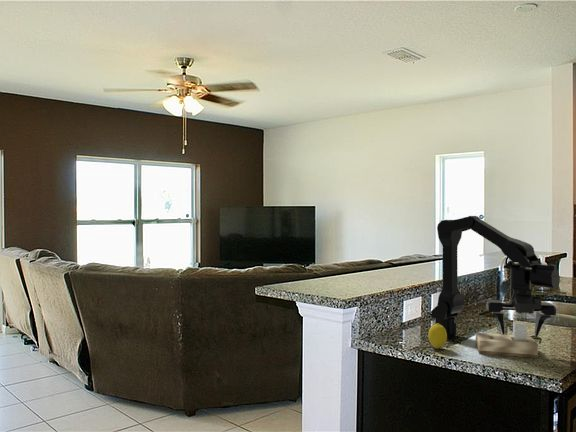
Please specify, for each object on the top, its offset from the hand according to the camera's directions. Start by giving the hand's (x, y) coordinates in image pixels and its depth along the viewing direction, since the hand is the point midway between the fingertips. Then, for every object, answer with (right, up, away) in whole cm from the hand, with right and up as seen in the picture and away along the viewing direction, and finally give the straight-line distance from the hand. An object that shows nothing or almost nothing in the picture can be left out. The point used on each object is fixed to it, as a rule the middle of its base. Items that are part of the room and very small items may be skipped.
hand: (519, 335), depth 152 cm
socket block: (-4, -5, +1) cm, 6 cm away
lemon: (-24, -5, +3) cm, 25 cm away
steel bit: (0, -4, 0) cm, 4 cm away
